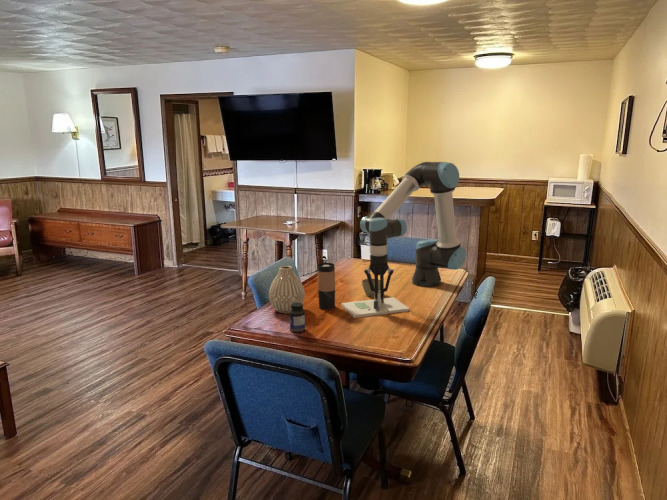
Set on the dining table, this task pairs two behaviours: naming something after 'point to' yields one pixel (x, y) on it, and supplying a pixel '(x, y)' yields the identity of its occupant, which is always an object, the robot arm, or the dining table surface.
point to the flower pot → (367, 287)
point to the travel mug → (326, 286)
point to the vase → (285, 290)
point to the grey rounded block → (377, 302)
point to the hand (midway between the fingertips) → (379, 306)
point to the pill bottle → (297, 318)
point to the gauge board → (368, 307)
